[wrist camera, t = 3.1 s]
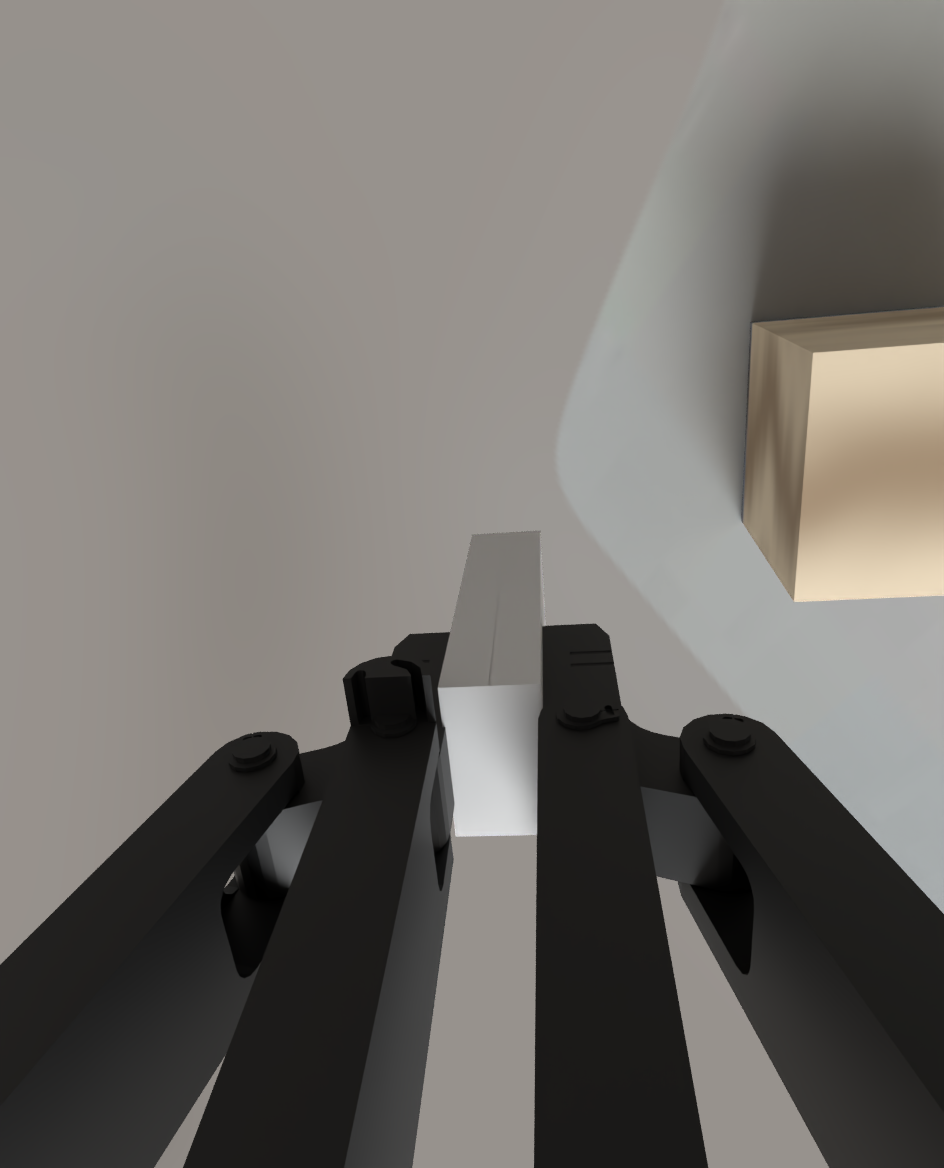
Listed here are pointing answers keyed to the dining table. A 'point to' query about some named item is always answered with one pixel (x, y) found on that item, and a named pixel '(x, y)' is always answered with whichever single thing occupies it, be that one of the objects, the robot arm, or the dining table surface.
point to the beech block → (848, 453)
